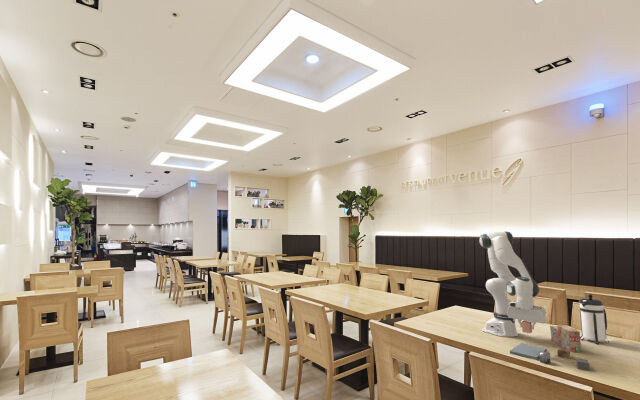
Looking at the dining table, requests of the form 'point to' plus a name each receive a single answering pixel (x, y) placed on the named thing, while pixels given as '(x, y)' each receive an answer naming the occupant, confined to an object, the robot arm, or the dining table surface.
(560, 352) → the walnut block
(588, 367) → the charcoal rubber cube
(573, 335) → the stack of blocks
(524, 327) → the terracotta block
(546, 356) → the dark metal cylinder
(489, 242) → the robot arm
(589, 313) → the coffee press
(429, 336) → the dining table surface
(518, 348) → the slate board
